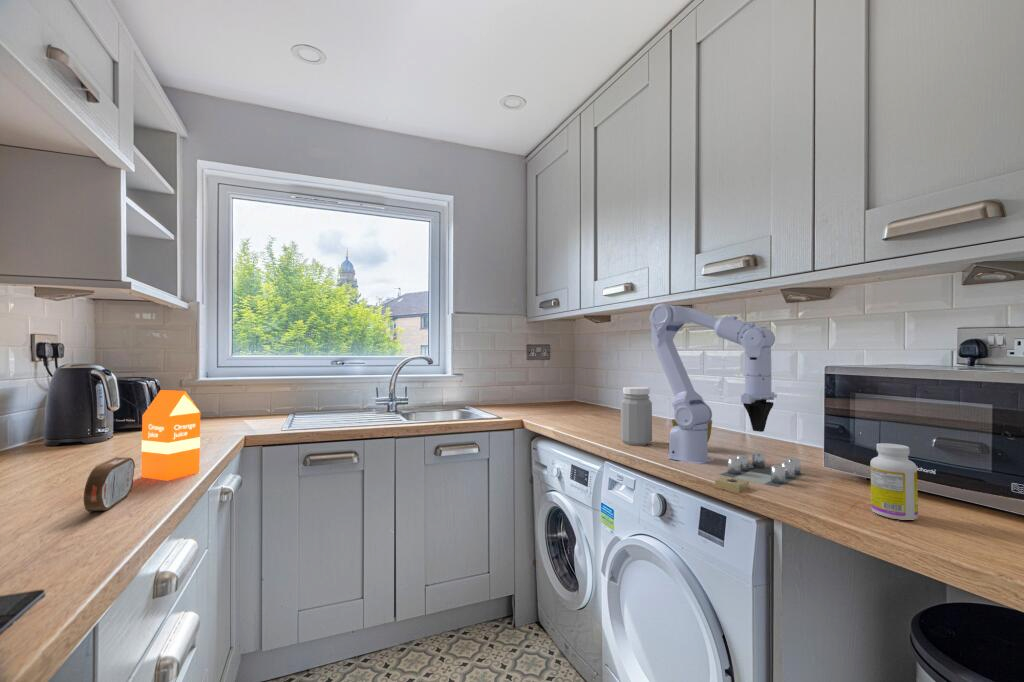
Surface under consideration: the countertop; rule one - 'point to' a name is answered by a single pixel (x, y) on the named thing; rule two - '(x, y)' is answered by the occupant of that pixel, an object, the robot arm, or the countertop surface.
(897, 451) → the supplement bottle
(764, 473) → the mat
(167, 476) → the orange juice
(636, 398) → the jar
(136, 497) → the countertop surface
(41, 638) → the countertop surface
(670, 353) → the robot arm
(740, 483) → the tan square block
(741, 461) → the spacers
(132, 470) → the tin
